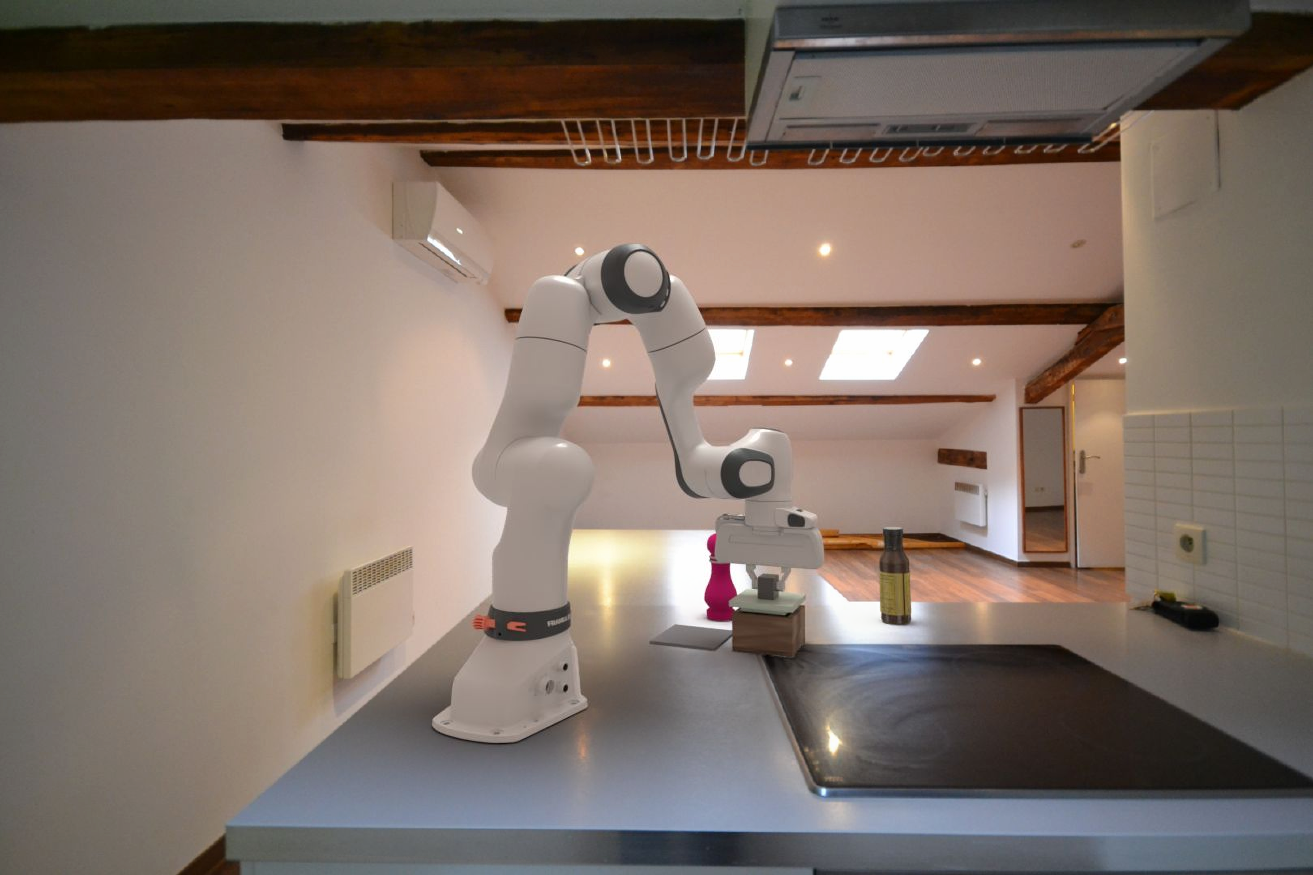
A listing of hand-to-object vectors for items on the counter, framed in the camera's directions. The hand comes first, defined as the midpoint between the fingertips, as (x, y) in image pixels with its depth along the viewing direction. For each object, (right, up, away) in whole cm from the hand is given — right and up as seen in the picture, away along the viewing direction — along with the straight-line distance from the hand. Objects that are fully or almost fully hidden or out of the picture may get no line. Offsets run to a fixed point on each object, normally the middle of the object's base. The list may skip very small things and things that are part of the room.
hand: (768, 589), depth 131 cm
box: (0, -11, 0) cm, 11 cm away
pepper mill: (-7, -11, +22) cm, 25 cm away
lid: (0, -3, 0) cm, 3 cm away
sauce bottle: (+30, -11, +18) cm, 36 cm away
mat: (-14, -11, +6) cm, 18 cm away
